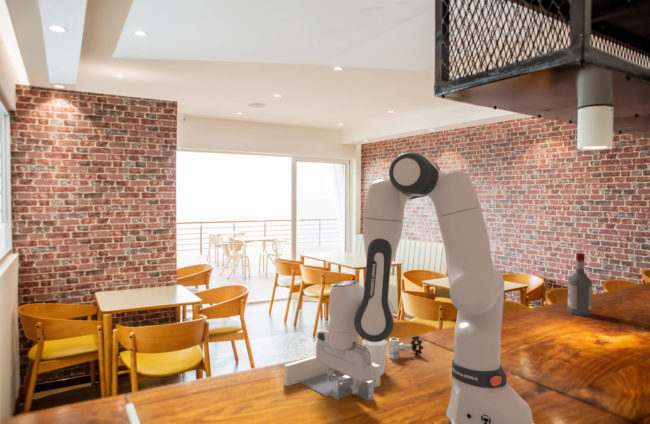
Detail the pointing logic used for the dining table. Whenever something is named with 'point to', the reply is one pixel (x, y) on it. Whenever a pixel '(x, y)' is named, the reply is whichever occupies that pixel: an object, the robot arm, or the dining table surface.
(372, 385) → the bracket
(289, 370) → the corner walls
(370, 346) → the white cup
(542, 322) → the dining table surface
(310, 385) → the mat
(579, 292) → the liquor
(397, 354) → the valve
